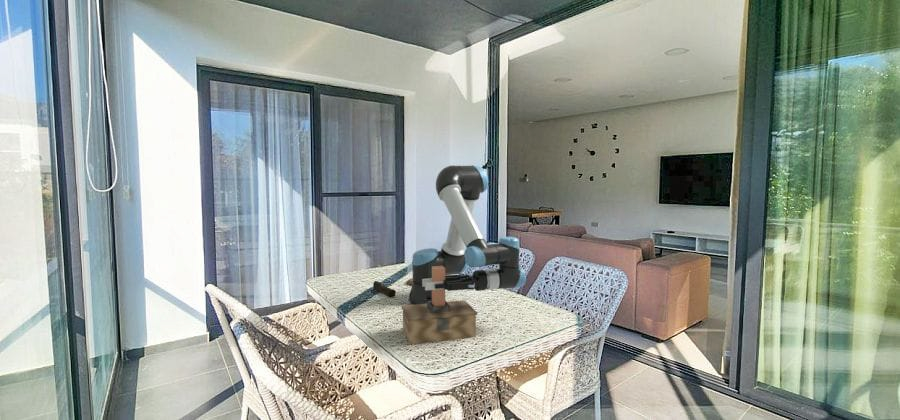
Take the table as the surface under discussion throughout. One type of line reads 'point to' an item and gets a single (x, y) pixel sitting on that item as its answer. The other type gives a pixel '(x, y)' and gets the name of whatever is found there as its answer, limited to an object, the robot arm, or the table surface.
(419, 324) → the wooden socket base
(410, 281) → the cookie
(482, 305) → the table surface
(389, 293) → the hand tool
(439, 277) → the wooden peg
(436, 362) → the table surface
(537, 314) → the table surface
